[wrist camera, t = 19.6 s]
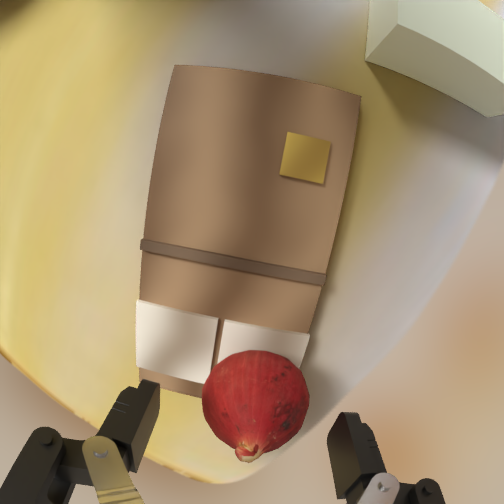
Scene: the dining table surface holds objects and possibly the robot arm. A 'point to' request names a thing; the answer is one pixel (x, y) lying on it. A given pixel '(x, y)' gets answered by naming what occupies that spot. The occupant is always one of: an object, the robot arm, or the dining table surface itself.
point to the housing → (442, 47)
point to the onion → (255, 402)
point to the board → (238, 219)
